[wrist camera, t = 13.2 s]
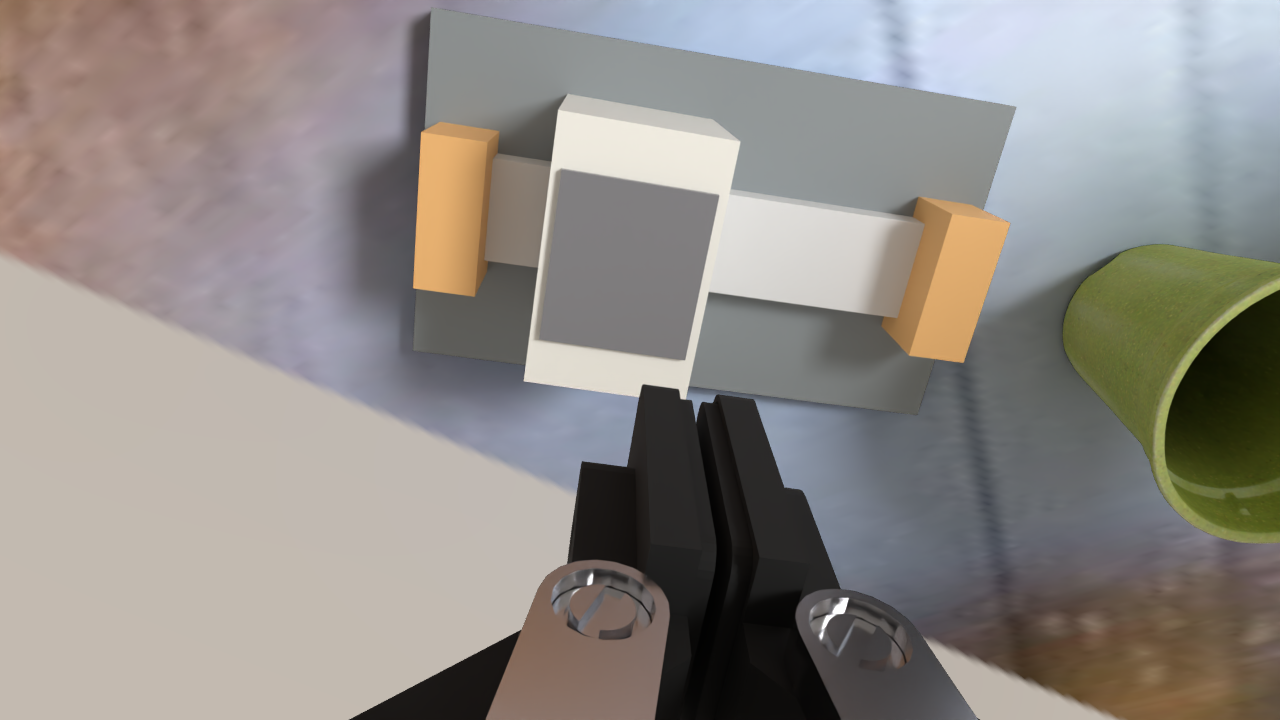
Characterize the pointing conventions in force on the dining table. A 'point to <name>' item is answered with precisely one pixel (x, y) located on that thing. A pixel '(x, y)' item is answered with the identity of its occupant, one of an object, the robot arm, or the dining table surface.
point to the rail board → (755, 215)
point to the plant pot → (1191, 377)
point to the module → (627, 246)
